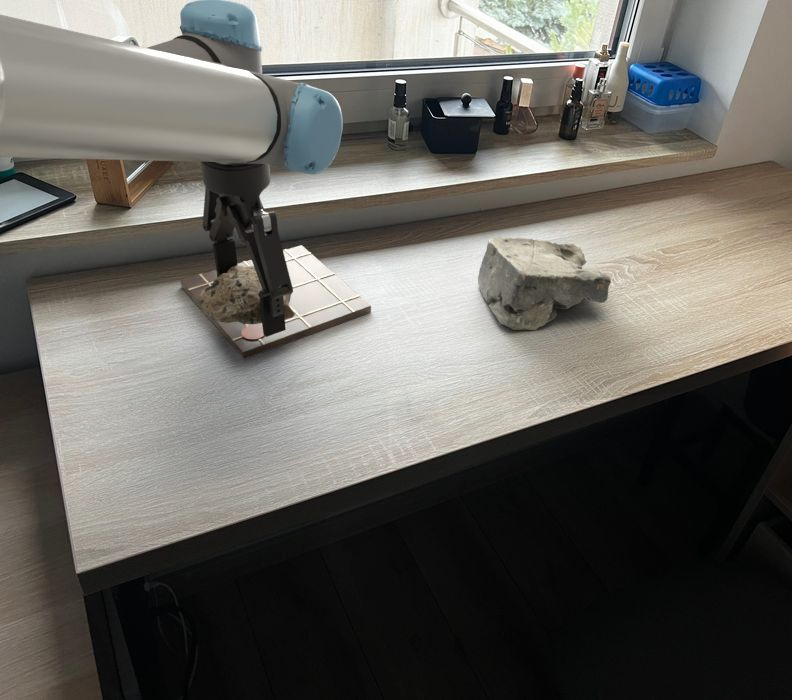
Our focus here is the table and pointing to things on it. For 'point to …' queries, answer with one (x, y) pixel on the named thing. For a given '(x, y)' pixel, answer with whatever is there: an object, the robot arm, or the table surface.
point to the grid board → (291, 304)
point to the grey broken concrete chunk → (536, 280)
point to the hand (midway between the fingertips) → (251, 307)
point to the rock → (237, 297)
